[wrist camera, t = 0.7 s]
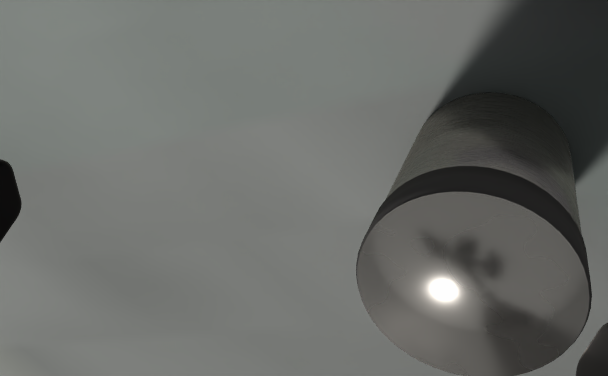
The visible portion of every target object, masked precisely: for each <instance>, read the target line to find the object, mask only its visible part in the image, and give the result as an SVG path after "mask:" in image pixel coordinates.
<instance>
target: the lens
mask: <svg viewBox="0 0 608 376" xmlns="http://www.w3.org/2000/svg"><path fill="white" fill-rule="evenodd" d="M356 276H357V283H358V288H359V292H360V295H361V298H362V301H363V303H364V306H365V308H366V310H367V312H368V314H369V315H370V317H371V319H372V320H373V322H374V323H375V324H376V325H377V327H378V328H379V329H380V331H381V332H382V333H383V334H384V335H385V336H386V337H387V338H388V339H389V340H390V341H391V342H393V343H394V344H395V345H396V346H397V347H399V348H400V349H401V350H403V351H404V352H406V353H407V354H409V355H410V356H412V357H414V358H416V359H417V360H419V361H421V362H423V363H425V364H428V365H430V366H432V367H434V368H437V369H440V370H443V371H446V372H450V373H454V374H458V375H463V376H514V375H519V374H523V373H527V372H530V371H533V370H535V369H538V368H540V367H543V366H544V365H546V364H548V363H550V362H552V361H554V360H555V359H556V358H558V357H559V356H560V355H562V354H563V353H564V352H565V351H566V350H567V349H568V348H569V347H570V346H571V345H572V344H573V343H574V342H575V341H576V339H577V338H578V336H579V335H580V334H581V332H582V330H583V328H584V326H585V324H586V322H587V320H588V316H589V312H590V309H591V298H592V292H591V282H590V275H589V268H588V260H587V253H586V248H585V244H584V241H583V237H582V234H581V227H580V219H579V211H578V204H577V196H576V189H575V181H574V173H573V166H572V158H571V151H570V147H569V144H568V141H567V138H566V136H565V134H564V132H563V131H562V129H561V127H560V126H559V124H558V123H557V122H556V121H555V120H554V119H553V117H552V116H551V115H549V114H548V113H547V112H546V111H545V110H544V109H542V108H541V107H539V106H537V105H536V104H534V103H532V102H530V101H528V100H526V99H524V98H521V97H518V96H515V95H510V94H505V93H494V92H488V93H477V94H471V95H467V96H464V97H461V98H458V99H456V100H454V101H451V102H449V103H448V104H446V105H444V106H443V107H441V108H440V109H439V110H437V111H436V112H435V113H434V114H433V115H432V116H431V117H430V118H429V119H428V120H427V121H426V122H425V124H424V125H423V127H422V128H421V130H420V132H419V134H418V135H417V137H416V140H415V142H414V144H413V146H412V148H411V150H410V152H409V154H408V156H407V158H406V160H405V162H404V164H403V166H402V168H401V170H400V172H399V174H398V176H397V178H396V180H395V182H394V184H393V186H392V188H391V190H390V192H389V194H388V196H387V198H386V200H385V201H384V203H383V204H382V205H381V207H380V208H379V210H378V212H377V214H376V216H375V217H374V219H373V221H372V223H371V225H370V227H369V229H368V231H367V233H366V235H365V237H364V239H363V241H362V244H361V247H360V250H359V252H358V258H357V264H356Z"/></svg>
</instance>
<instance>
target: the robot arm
mask: <svg viewBox="0 0 608 376" xmlns="http://www.w3.org/2000/svg"><path fill="white" fill-rule="evenodd" d="M20 210H21V198H20V194H19V191H18V187H17V183H16V180H15V176H14V172H13V169H12V167H11V165H10V164H9V163H8V162H6V161H4V160H1V159H0V242H1V241H2V239H3V238H4V236H5V235H6V233H7V232H8V230H9V229H10V227H11V226H12V224H13V223H14V222H15V220H16V219H17V217H18V215H19V213H20ZM576 376H608V323H606V324H605V325H603V326H602V327H601V328H600V330H599V331H598V333H597V334H596V336H595V337H594V338H593V340H592V341H591V343H590V344H589V346H588V347H587V349H586V350H585V352H584V353H583V355H582V356H581V358H580V360H579V363H578V366H577V371H576Z"/></svg>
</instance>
